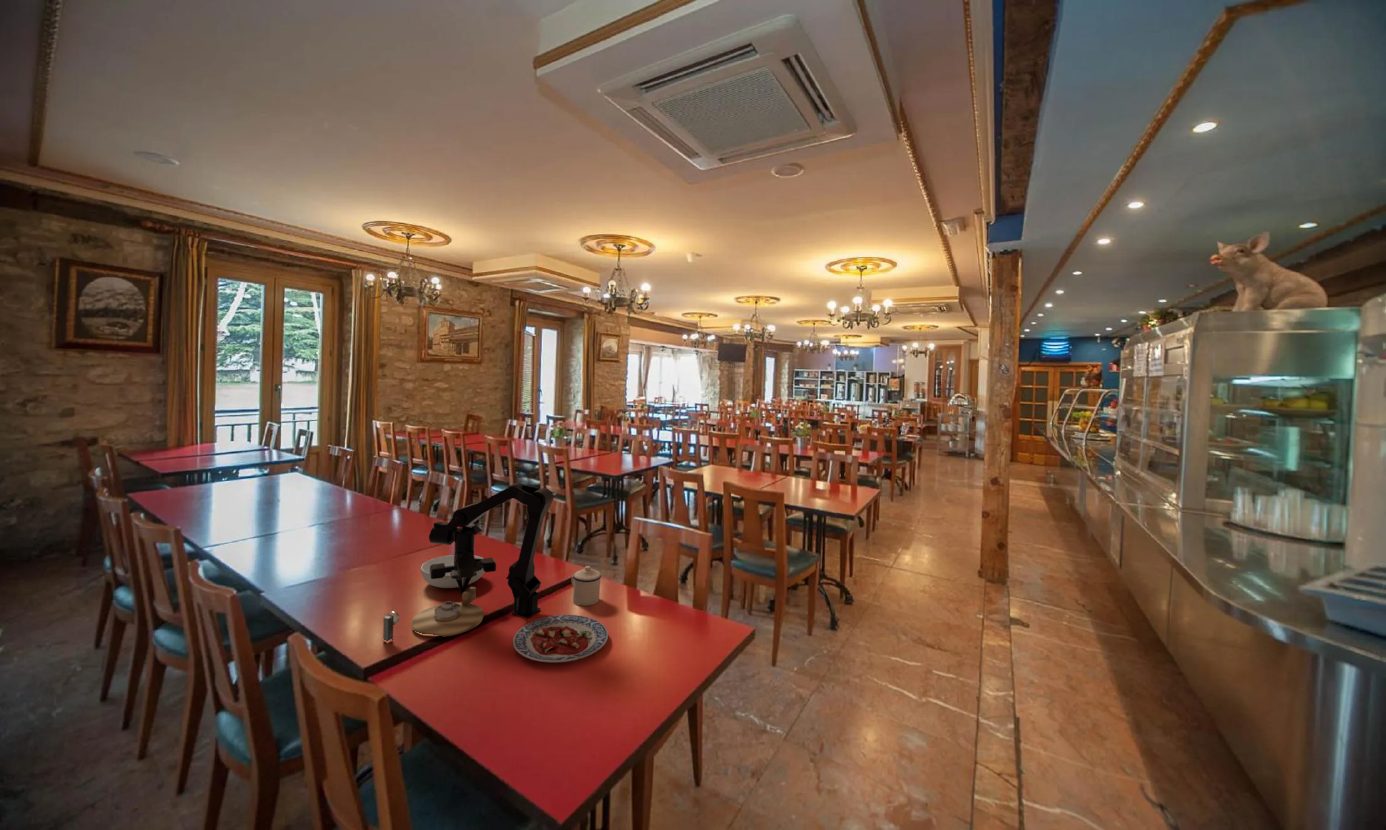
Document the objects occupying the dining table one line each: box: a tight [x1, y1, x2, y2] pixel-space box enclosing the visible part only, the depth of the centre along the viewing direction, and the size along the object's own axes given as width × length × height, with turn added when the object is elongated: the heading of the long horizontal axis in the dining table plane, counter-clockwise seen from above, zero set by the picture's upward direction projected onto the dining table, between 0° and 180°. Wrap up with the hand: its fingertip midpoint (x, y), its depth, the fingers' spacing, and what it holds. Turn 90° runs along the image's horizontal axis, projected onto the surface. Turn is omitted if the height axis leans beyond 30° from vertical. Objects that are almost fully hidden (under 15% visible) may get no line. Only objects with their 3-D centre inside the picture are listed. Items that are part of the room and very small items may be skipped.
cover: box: [434, 600, 461, 622], centre depth 148 cm, size 7×7×4 cm
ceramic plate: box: [512, 614, 609, 663], centre depth 141 cm, size 26×26×3 cm
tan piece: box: [411, 586, 484, 638], centre depth 149 cm, size 21×19×5 cm
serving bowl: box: [420, 554, 486, 589], centre depth 176 cm, size 21×21×7 cm
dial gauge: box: [382, 610, 400, 641], centre depth 136 cm, size 4×3×8 cm
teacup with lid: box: [571, 565, 602, 607], centre depth 169 cm, size 12×9×12 cm
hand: (462, 594), depth 159 cm, fingers closed
